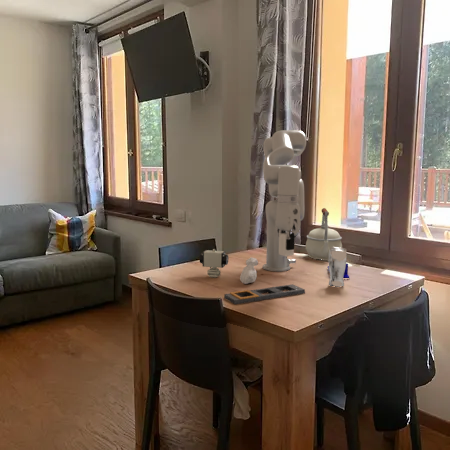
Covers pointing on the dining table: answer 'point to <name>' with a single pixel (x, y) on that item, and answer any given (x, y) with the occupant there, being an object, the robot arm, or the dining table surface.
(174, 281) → the dining table surface
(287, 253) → the peg
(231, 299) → the rail
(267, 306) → the dining table surface
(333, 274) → the beer glass
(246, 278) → the duck figurine
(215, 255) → the pneumatic valve
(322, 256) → the kettle
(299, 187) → the robot arm
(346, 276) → the mounting bracket
